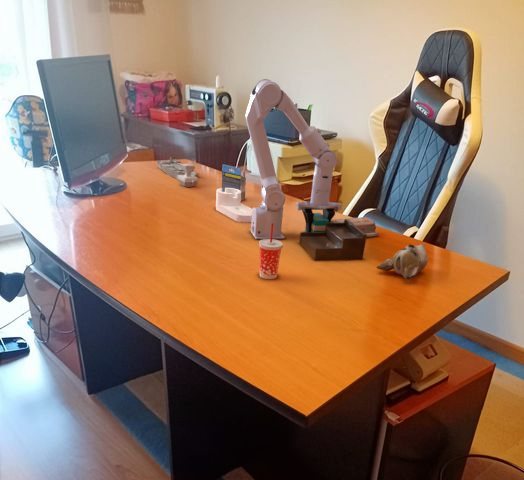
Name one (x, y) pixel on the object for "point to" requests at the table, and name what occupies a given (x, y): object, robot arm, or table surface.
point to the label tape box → (233, 180)
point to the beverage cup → (269, 256)
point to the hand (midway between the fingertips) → (315, 232)
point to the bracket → (232, 205)
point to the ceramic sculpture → (407, 261)
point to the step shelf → (335, 242)
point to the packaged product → (361, 225)
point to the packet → (318, 223)
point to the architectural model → (172, 167)
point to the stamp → (187, 176)
